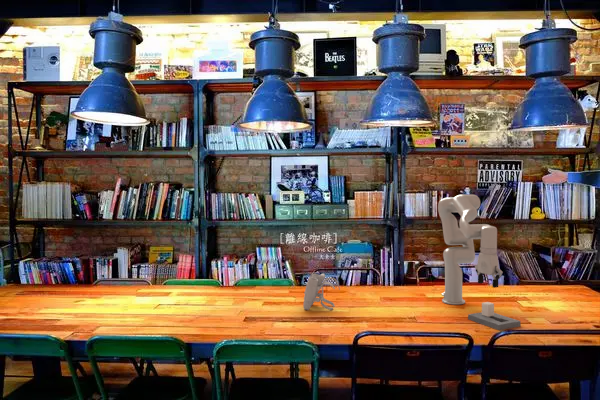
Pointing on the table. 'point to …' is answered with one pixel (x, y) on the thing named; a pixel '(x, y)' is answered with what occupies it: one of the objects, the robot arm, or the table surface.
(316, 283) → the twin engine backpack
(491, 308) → the peg
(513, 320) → the keyhole plate
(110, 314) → the table surface
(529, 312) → the table surface
